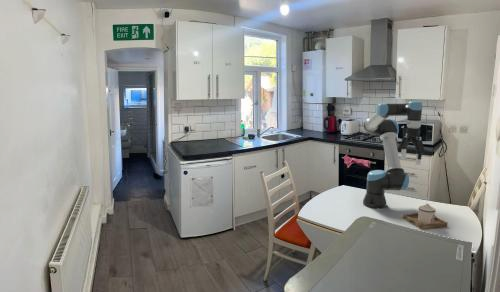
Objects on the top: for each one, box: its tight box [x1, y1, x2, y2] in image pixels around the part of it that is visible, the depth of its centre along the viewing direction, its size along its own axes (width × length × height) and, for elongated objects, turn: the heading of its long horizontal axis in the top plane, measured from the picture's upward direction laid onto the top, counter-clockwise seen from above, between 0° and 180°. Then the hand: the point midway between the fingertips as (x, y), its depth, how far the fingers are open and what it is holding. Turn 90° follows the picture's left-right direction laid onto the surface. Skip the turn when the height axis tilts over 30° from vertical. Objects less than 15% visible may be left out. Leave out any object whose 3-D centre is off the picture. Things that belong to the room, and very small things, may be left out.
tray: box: [402, 212, 448, 230], centre depth 210 cm, size 17×17×2 cm
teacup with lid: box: [417, 203, 437, 225], centre depth 207 cm, size 12×9×12 cm
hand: (410, 161), depth 215 cm, fingers open, 13 cm apart
